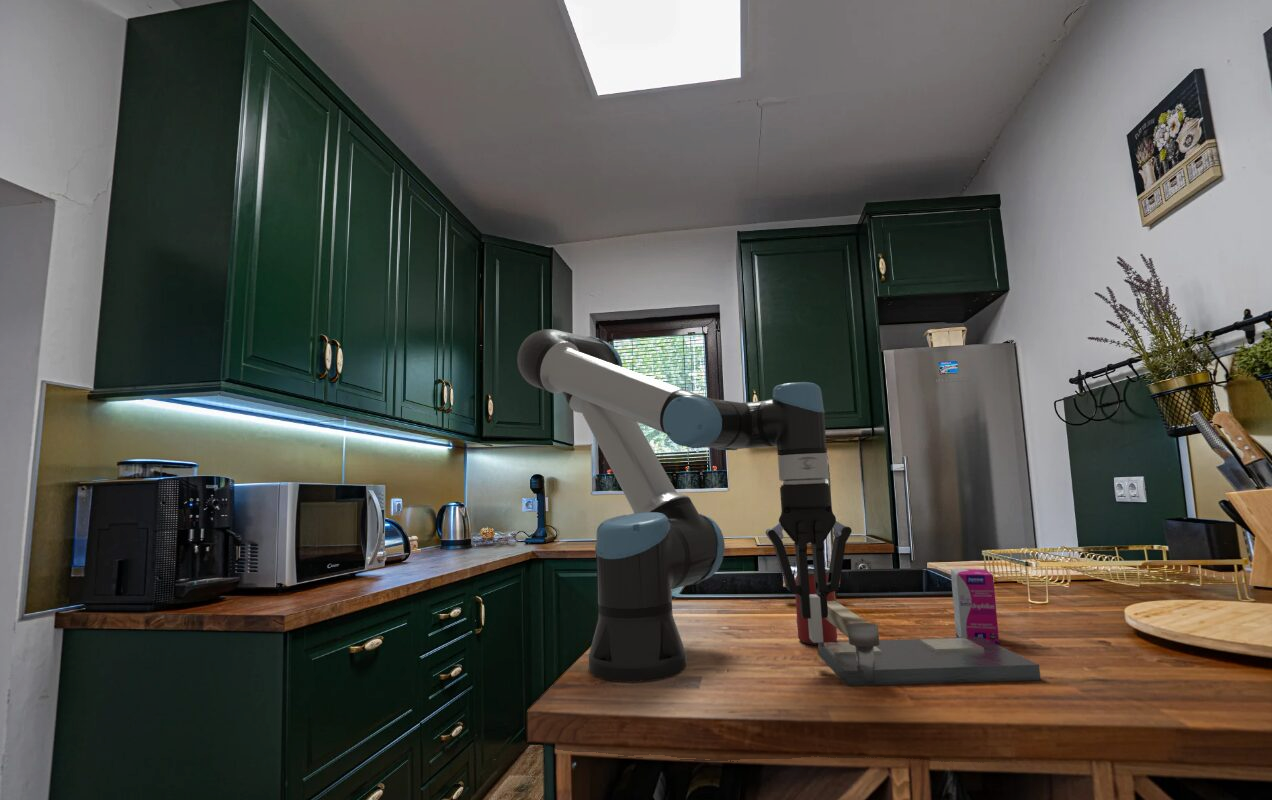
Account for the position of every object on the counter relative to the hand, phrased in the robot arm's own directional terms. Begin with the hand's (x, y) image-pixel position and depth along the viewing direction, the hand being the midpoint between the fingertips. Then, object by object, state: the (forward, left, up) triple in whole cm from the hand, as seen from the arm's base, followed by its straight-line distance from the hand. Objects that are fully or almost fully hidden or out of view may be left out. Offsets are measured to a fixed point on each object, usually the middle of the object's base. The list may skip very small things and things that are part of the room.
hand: (816, 640), depth 100 cm
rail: (+5, 0, +1) cm, 5 cm away
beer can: (+4, +16, -4) cm, 17 cm away
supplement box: (+30, +13, -4) cm, 33 cm away
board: (+15, -1, -4) cm, 15 cm away
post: (+5, -8, -4) cm, 10 cm away
